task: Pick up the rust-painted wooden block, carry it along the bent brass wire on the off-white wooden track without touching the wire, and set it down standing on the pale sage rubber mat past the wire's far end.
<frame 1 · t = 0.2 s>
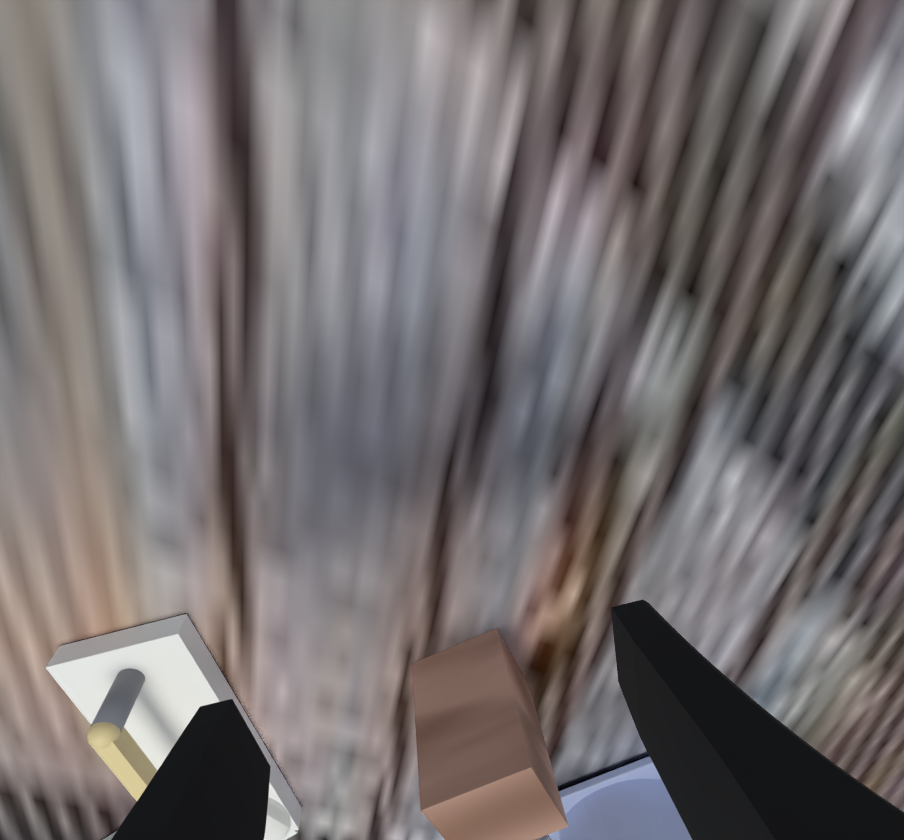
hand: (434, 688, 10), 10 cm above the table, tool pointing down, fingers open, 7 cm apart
rust block: (471, 673, 24), on the table
wire track: (240, 802, 26), on the table
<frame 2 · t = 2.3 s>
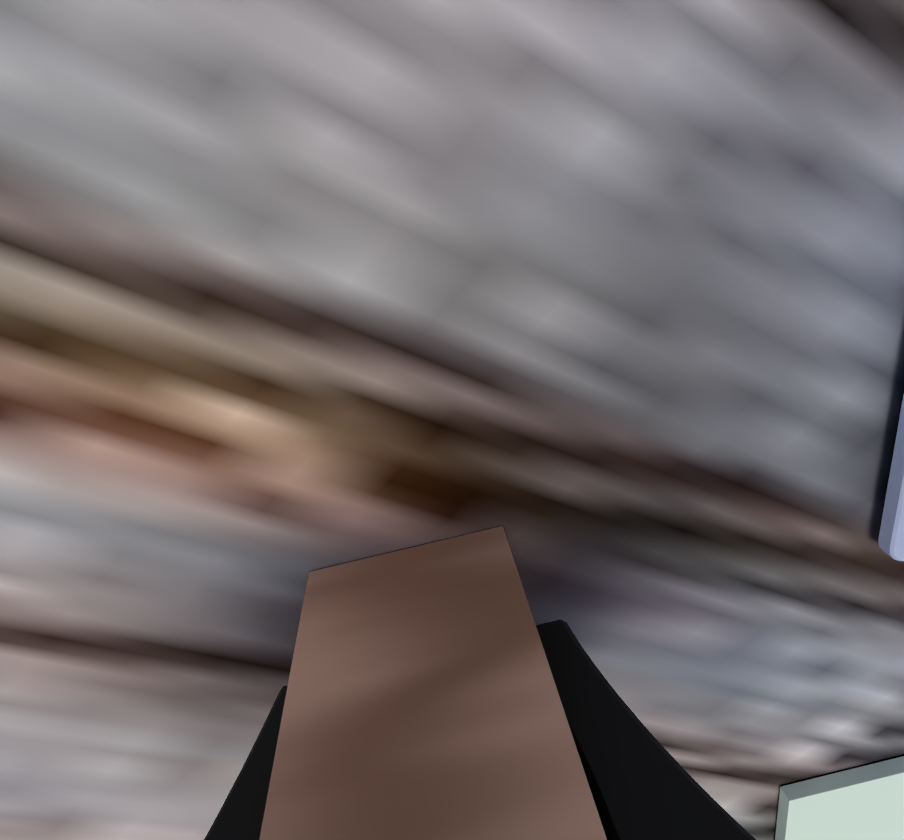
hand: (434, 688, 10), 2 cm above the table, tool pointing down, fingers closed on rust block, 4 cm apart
rust block: (427, 620, 12), on the table, touching gripper
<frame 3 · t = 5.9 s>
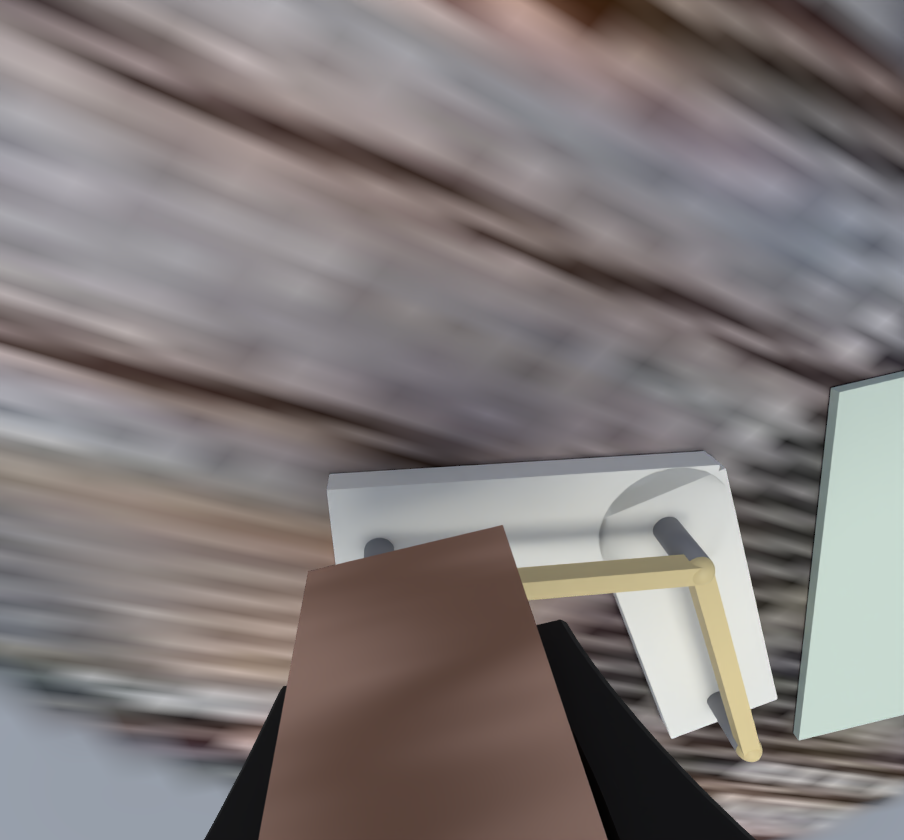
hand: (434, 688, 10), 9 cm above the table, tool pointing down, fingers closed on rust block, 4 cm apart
rust block: (427, 619, 12), point 7 cm above the table, touching gripper
wire track: (654, 512, 20), on the table
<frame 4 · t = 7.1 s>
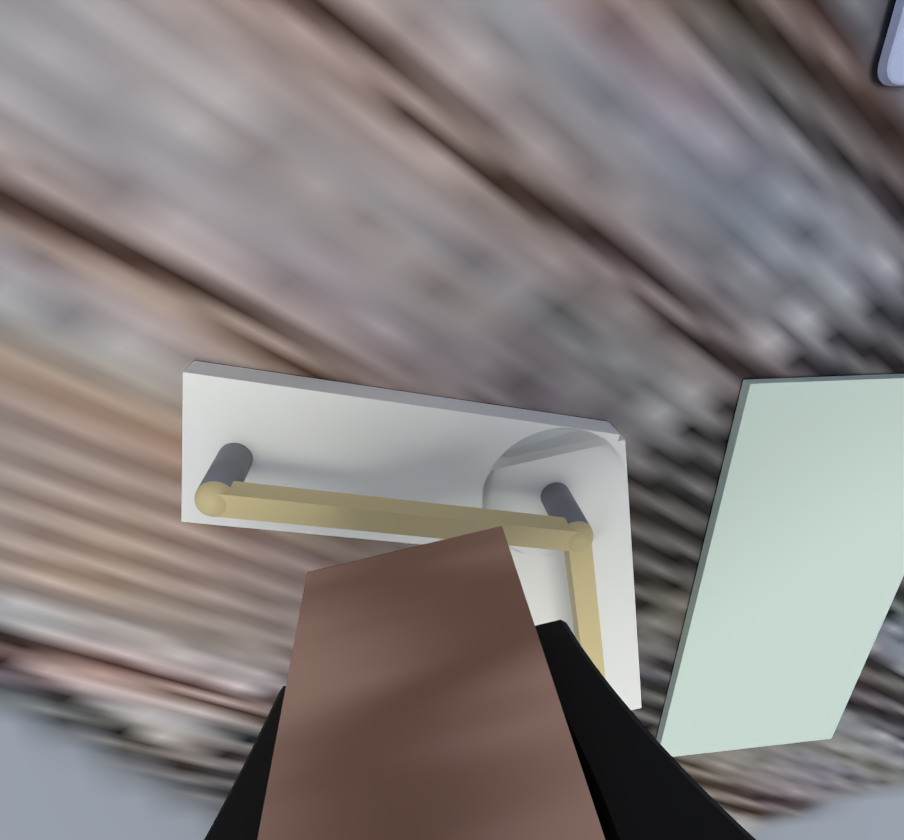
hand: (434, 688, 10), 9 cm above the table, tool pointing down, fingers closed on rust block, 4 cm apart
rust block: (426, 620, 12), point 7 cm above the table, touching gripper
end mat: (792, 589, 23), on the table
wire track: (546, 479, 19), on the table
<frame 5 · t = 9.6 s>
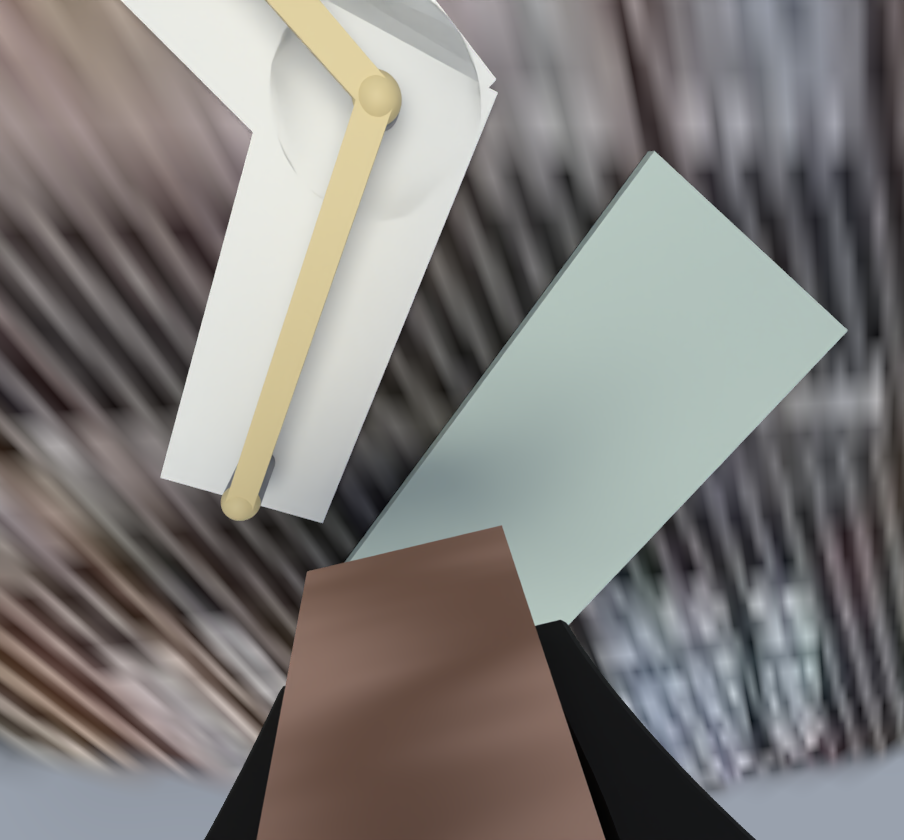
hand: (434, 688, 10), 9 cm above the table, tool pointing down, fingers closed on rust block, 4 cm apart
rust block: (426, 620, 12), point 7 cm above the table, touching gripper
end mat: (555, 479, 19), on the table
wire track: (378, 112, 14), on the table
when the fingers open (3 cm above the table, at t = 12.0 s): rust block stays where it is, resting on end mat.
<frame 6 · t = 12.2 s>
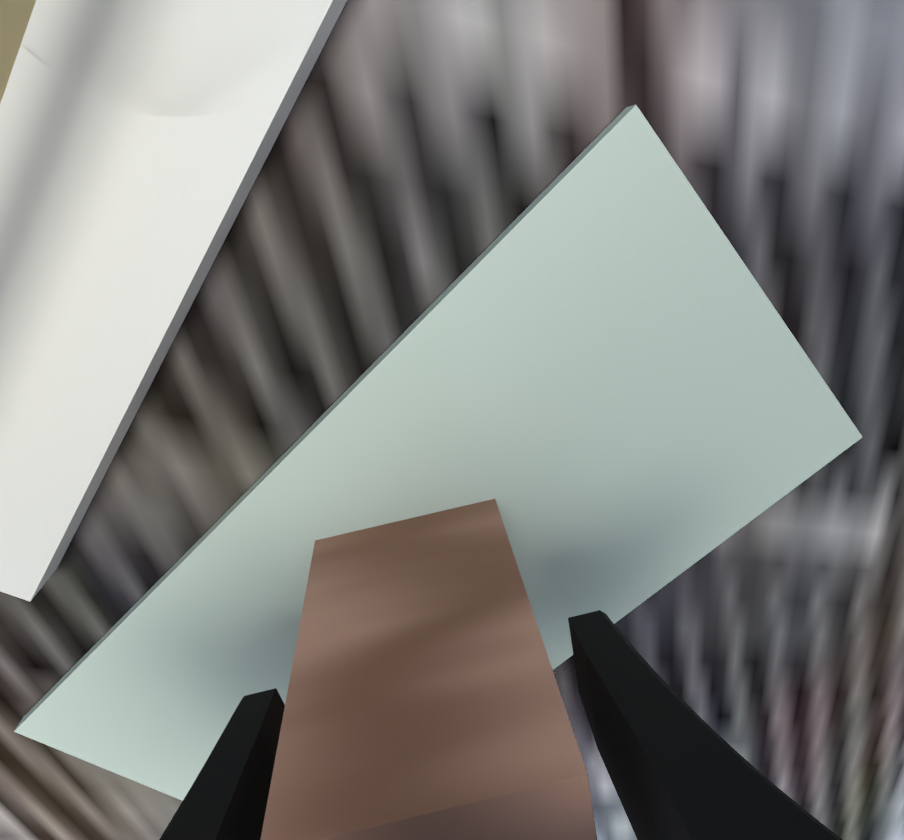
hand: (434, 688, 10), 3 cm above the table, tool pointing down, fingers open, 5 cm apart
rust block: (425, 588, 13), resting on end mat
end mat: (423, 577, 13), on the table
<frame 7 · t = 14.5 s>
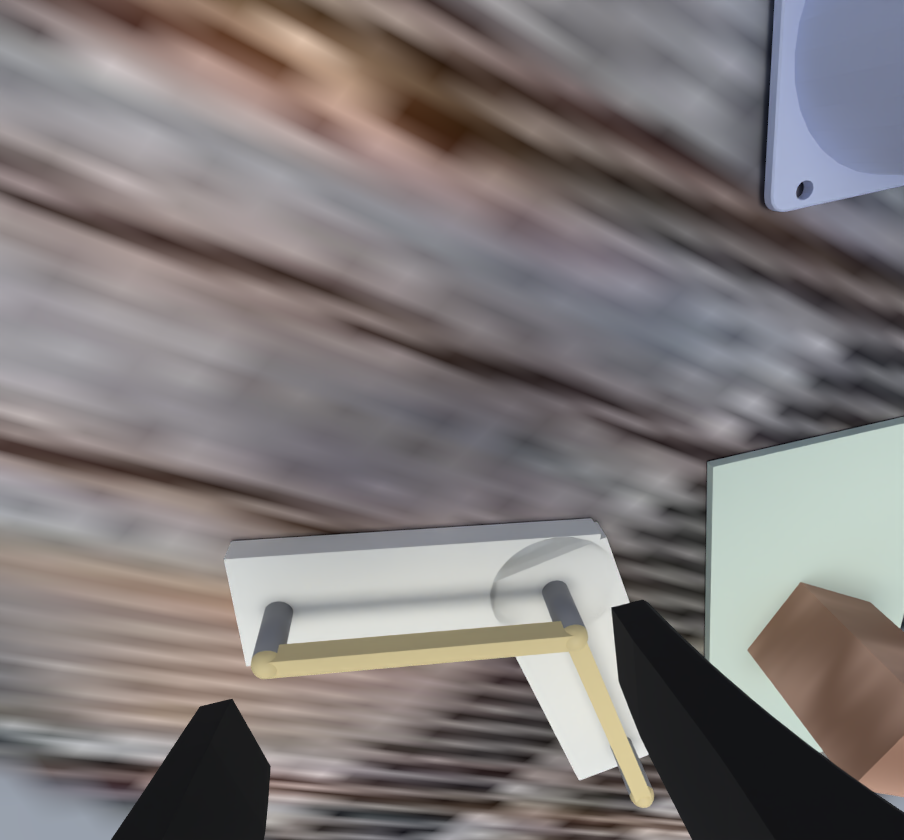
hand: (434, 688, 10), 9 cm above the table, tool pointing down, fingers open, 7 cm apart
rust block: (808, 626, 24), resting on end mat
end mat: (801, 619, 25), on the table
wire track: (547, 573, 22), on the table
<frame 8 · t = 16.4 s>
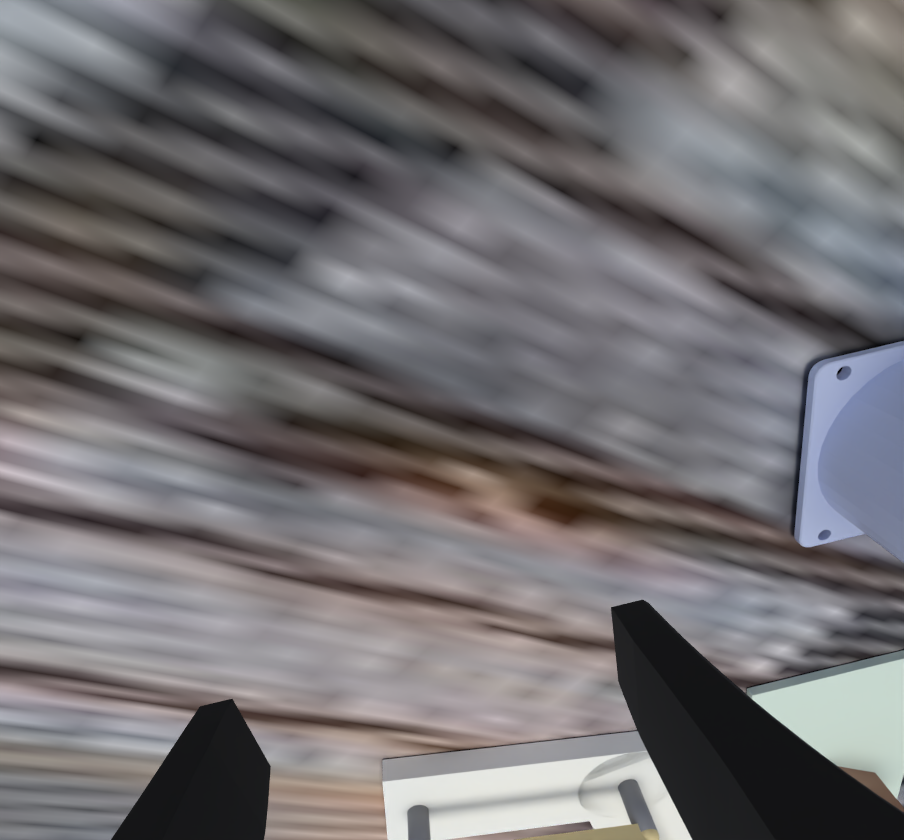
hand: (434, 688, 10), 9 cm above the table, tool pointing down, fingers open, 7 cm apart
rust block: (825, 791, 30), resting on end mat
end mat: (819, 783, 30), on the table
wire track: (619, 765, 28), on the table
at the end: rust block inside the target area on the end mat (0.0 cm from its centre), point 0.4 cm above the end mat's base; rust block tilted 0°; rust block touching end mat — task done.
